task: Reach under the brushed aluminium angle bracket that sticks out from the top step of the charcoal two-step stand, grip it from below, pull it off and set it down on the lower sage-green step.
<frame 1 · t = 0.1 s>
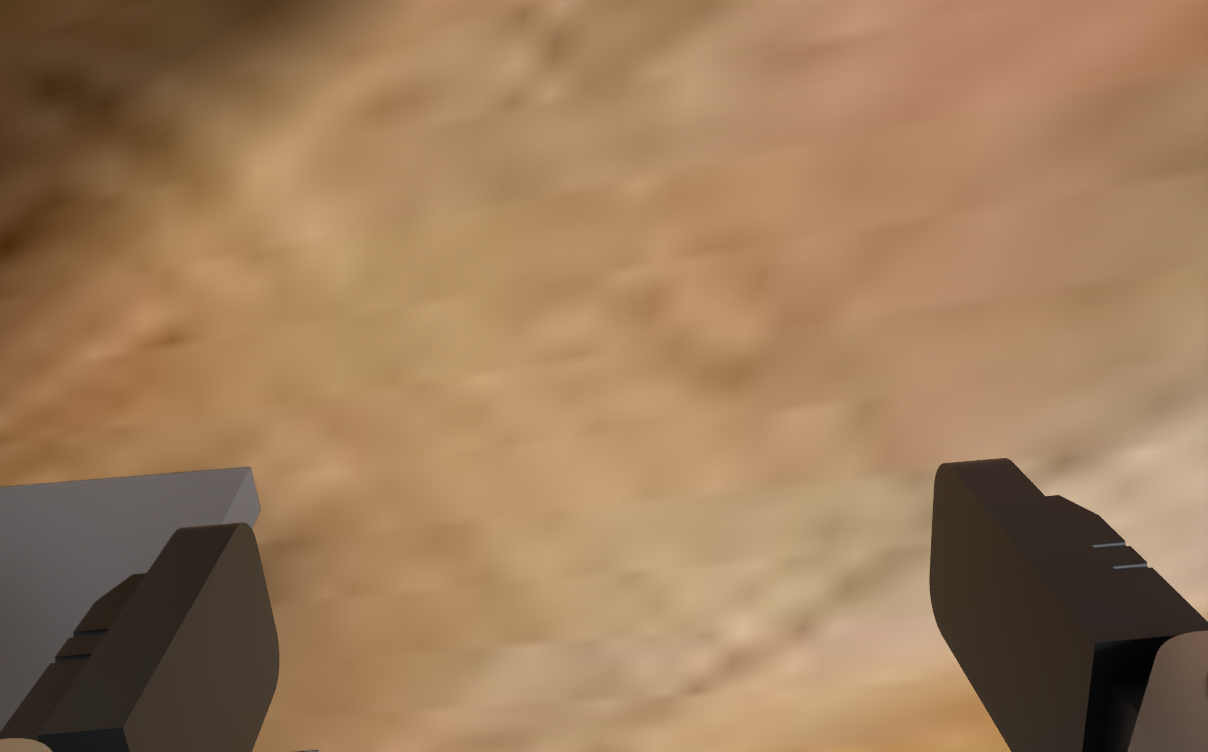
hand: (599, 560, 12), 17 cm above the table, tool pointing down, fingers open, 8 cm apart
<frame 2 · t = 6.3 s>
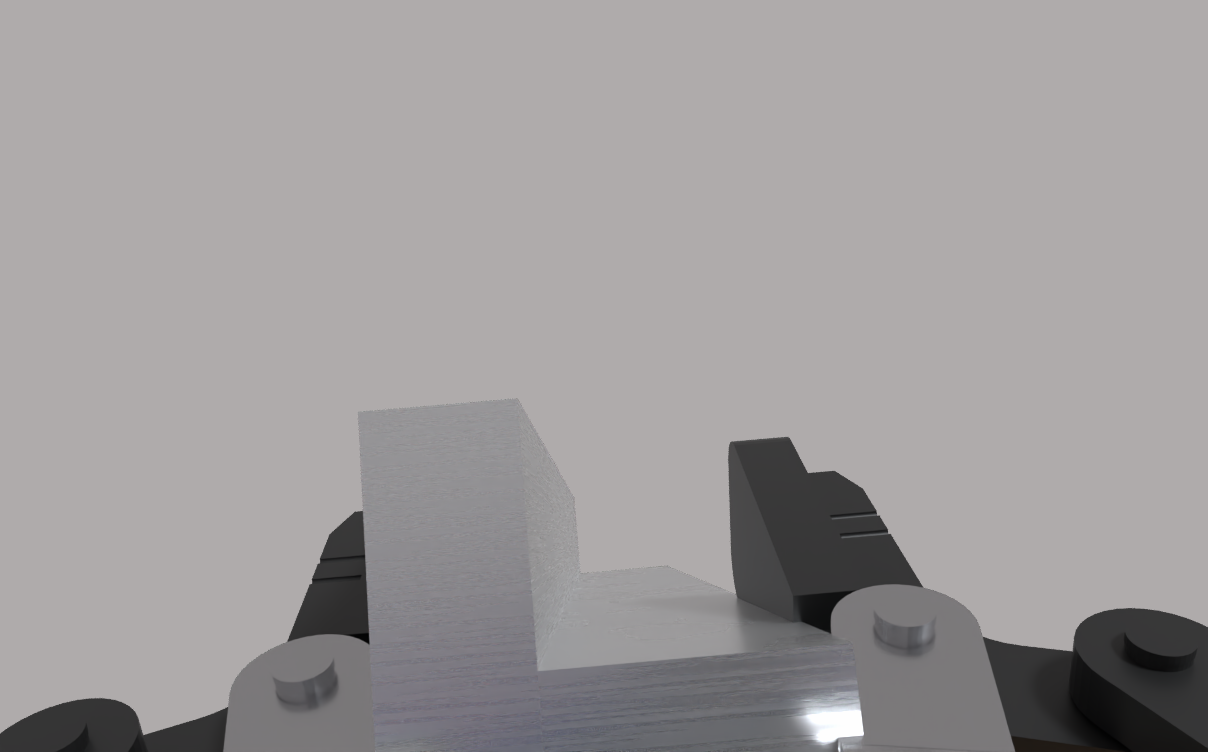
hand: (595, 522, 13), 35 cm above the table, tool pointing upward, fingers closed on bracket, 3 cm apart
bracket: (611, 683, 17), point 32 cm above the table, touching gripper, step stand
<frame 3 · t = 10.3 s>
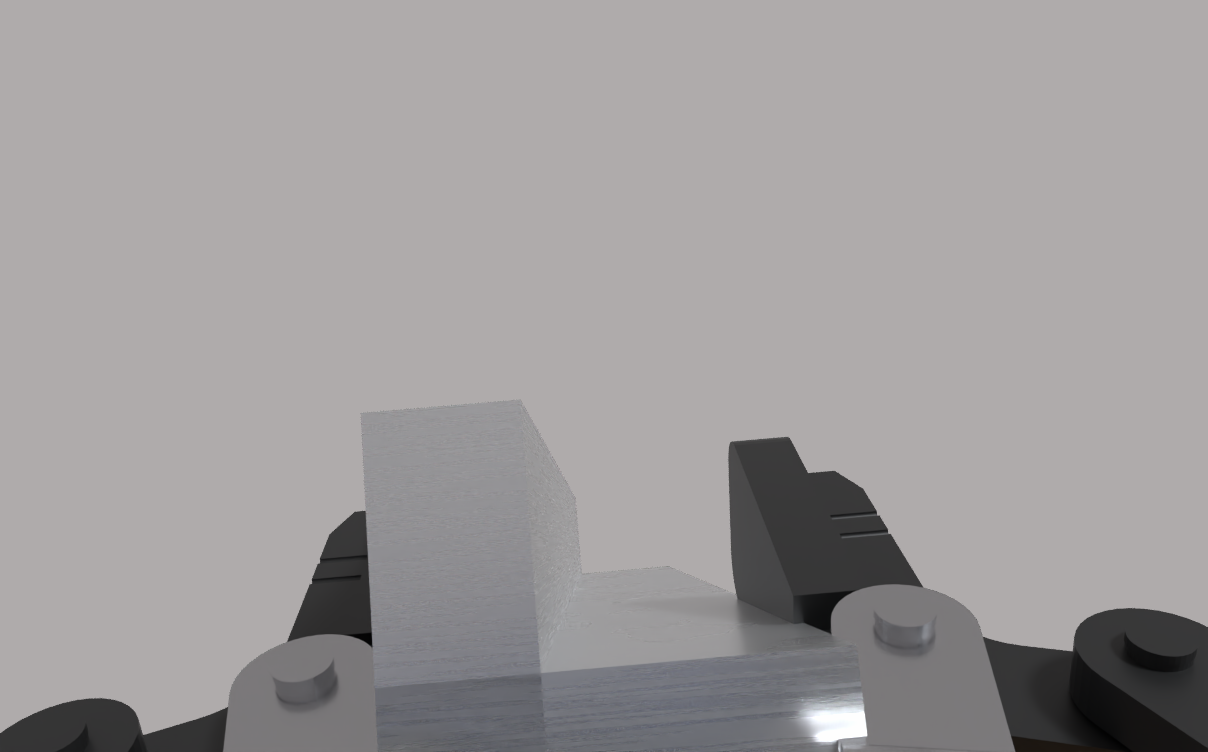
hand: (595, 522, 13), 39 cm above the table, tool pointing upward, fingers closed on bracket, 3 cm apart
bracket: (613, 684, 17), point 36 cm above the table, touching gripper
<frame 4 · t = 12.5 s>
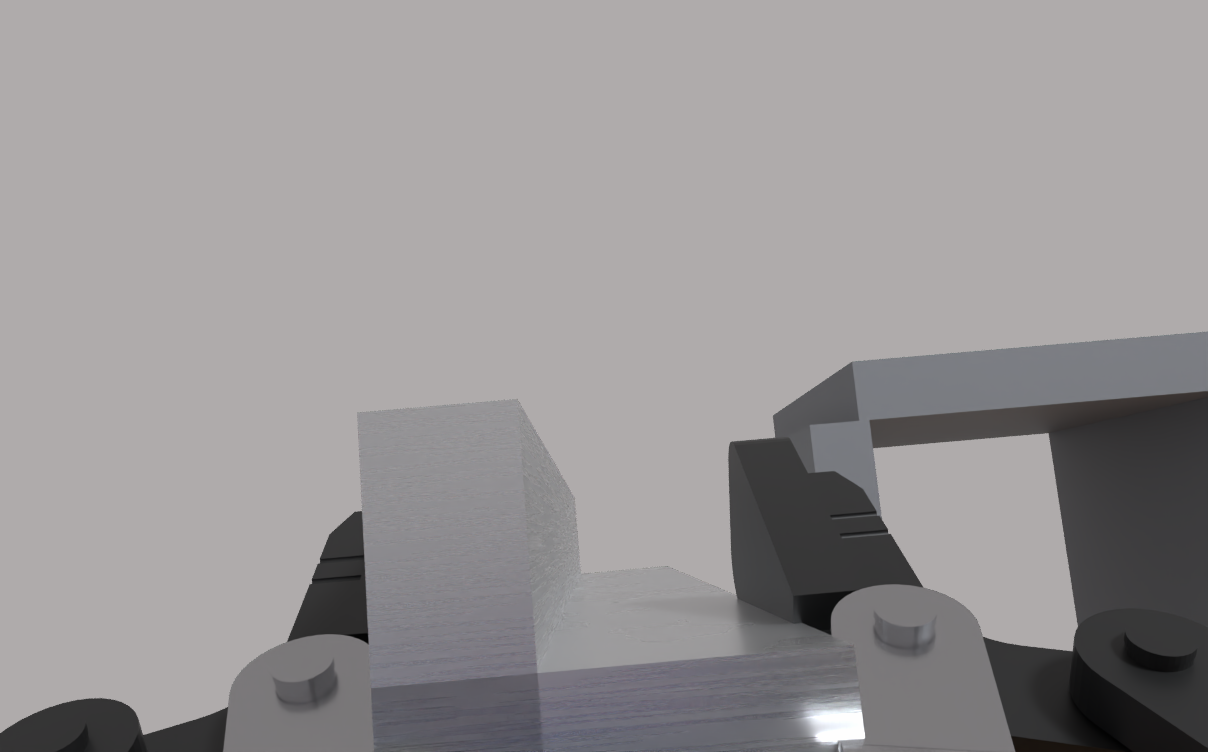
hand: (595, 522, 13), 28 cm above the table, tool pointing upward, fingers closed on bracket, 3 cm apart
bracket: (611, 684, 17), point 26 cm above the table, touching gripper
when the fingers open (26 cm above the table, at t = 14.5 s): bracket drops 1 cm, resting on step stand.
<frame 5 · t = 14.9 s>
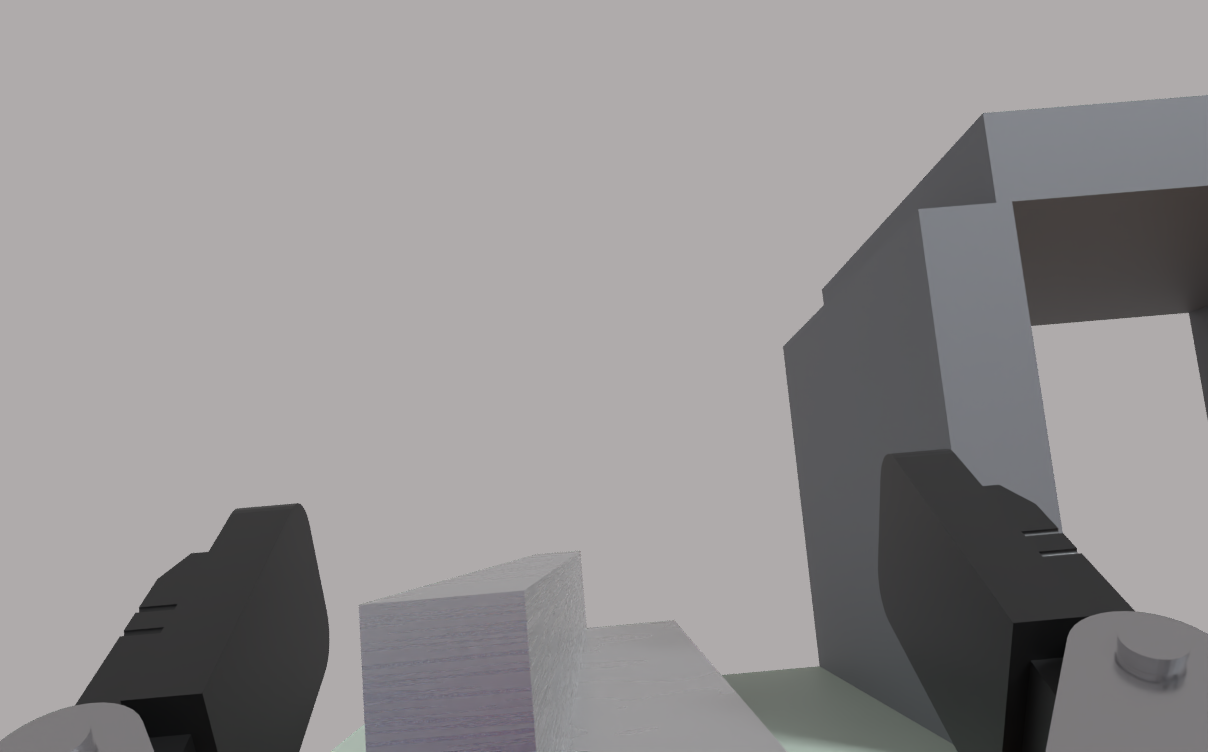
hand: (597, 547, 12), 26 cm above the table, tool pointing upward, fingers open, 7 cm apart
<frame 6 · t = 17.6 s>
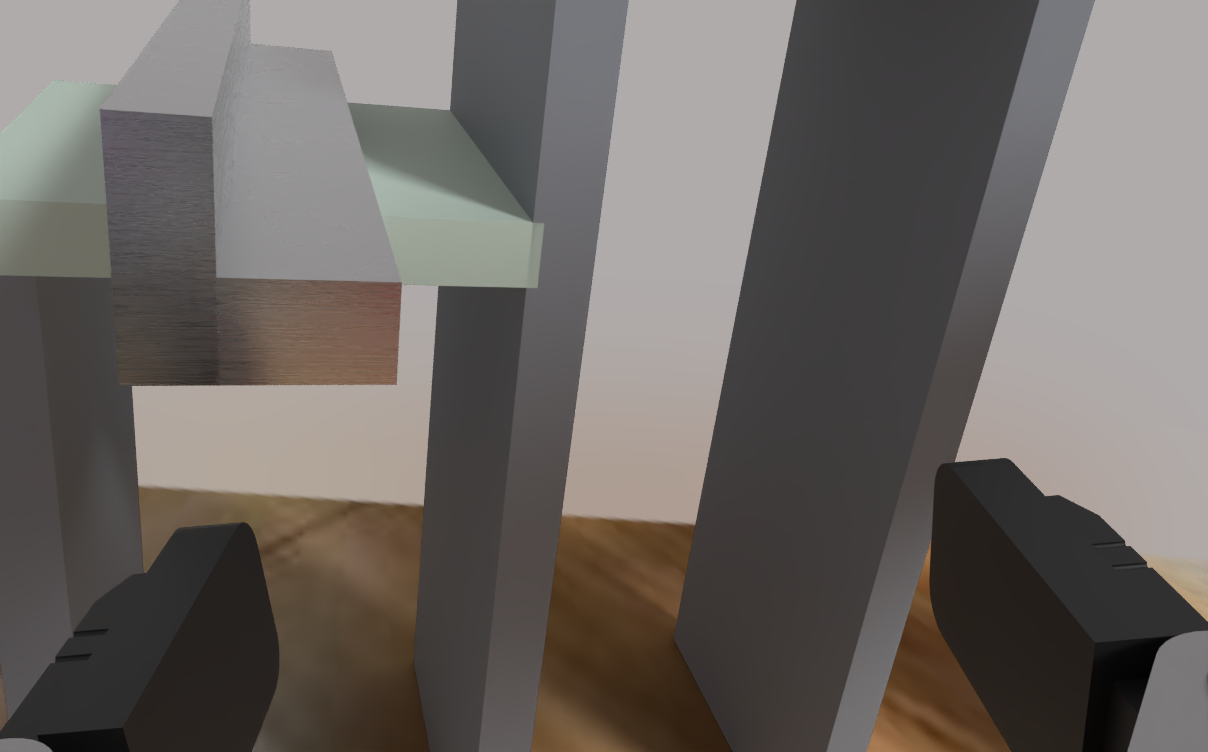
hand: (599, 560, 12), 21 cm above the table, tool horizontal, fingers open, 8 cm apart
bracket: (268, 185, 22), point 22 cm above the table, touching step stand
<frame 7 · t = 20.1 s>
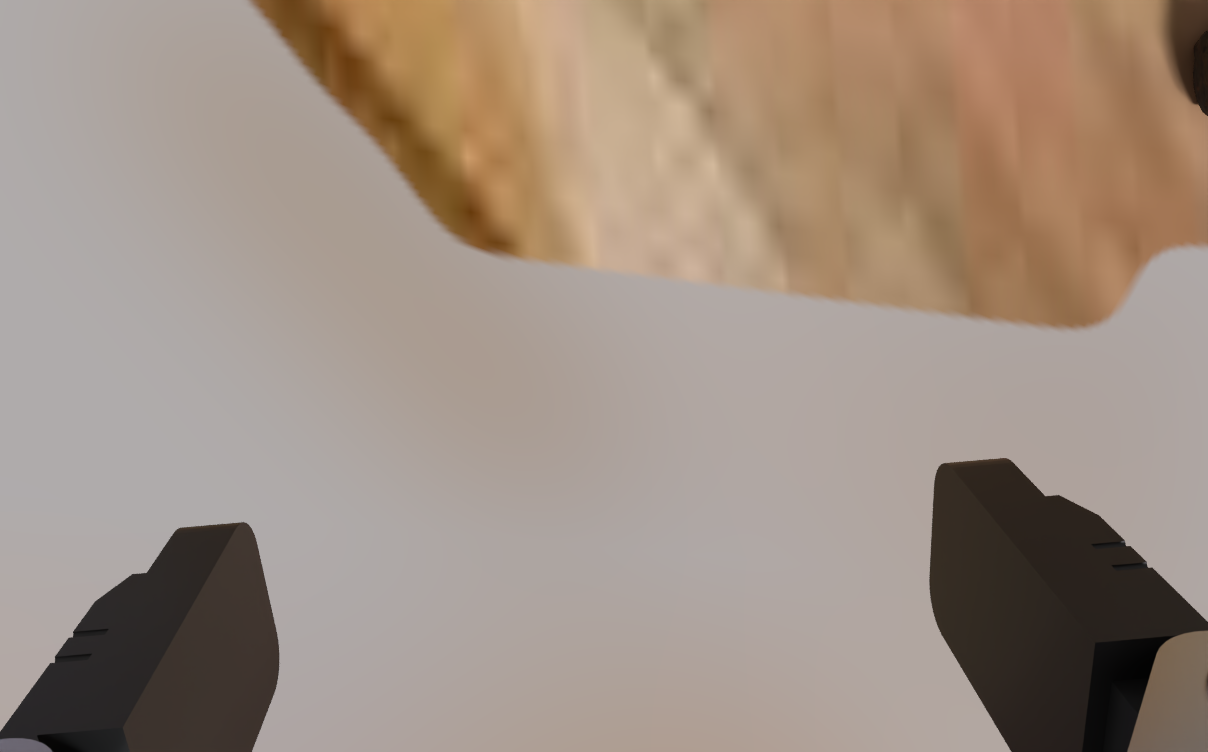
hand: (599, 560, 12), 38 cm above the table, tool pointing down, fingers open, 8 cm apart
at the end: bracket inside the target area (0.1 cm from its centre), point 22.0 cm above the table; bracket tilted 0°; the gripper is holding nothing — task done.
